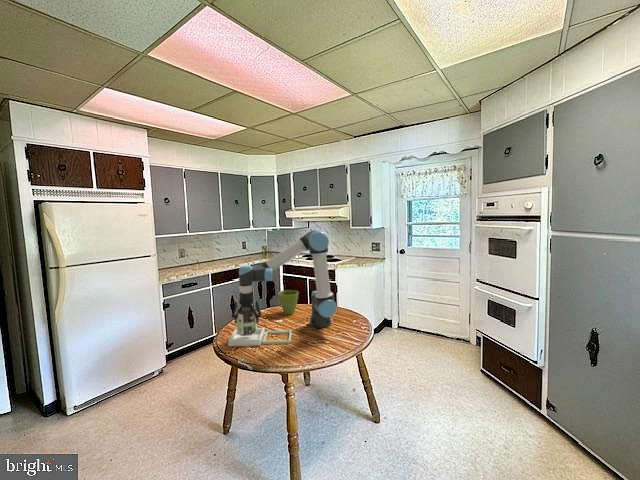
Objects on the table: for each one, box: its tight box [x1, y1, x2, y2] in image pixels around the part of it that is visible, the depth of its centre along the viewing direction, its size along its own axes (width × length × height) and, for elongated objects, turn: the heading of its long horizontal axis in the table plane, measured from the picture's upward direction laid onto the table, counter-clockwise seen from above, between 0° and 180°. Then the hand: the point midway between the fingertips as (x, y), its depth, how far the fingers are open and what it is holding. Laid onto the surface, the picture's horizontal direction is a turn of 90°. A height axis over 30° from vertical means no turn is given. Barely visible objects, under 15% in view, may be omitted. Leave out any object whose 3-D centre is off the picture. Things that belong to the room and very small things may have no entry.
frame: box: [261, 330, 293, 345], centre depth 181 cm, size 16×16×2 cm
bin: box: [227, 327, 266, 347], centre depth 179 cm, size 18×18×4 cm
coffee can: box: [237, 308, 256, 336], centre depth 178 cm, size 10×10×14 cm
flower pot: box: [278, 289, 300, 315], centre depth 227 cm, size 15×15×16 cm
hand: (247, 328), depth 179 cm, fingers closed on coffee can, 10 cm apart
